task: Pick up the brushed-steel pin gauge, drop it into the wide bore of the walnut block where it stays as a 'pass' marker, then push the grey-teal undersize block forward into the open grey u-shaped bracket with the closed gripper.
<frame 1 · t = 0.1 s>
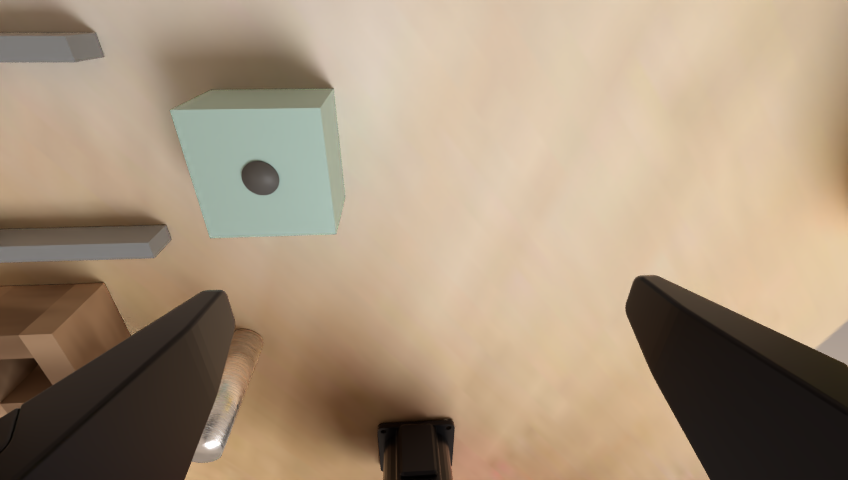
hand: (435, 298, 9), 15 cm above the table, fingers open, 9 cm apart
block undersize: (284, 146, 22), on the table
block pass: (70, 327, 27), on the table
pin gauge: (245, 341, 28), on the table
grey u-shaped bracket: (28, 151, 21), on the table
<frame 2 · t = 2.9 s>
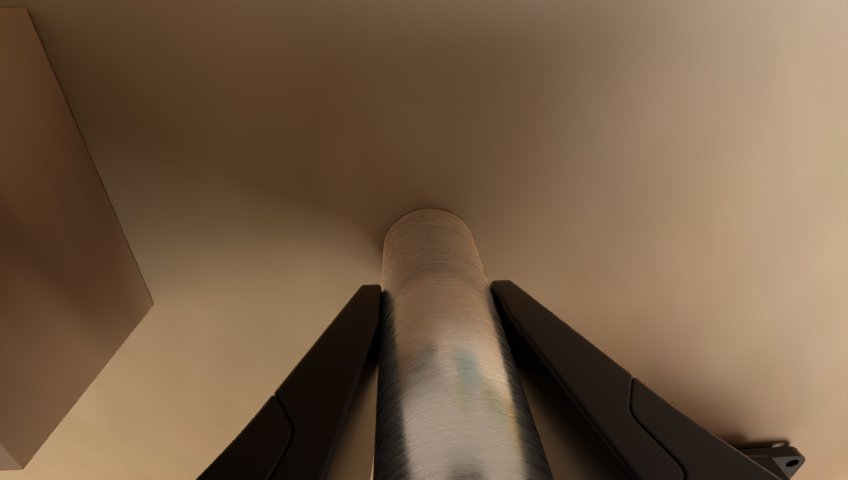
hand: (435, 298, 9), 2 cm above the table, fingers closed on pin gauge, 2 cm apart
pin gauge: (428, 249, 11), on the table, touching gripper
when the fingers open (5 cm above the table, at t = 6.1 s): pin gauge drops 3 cm, resting in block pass.
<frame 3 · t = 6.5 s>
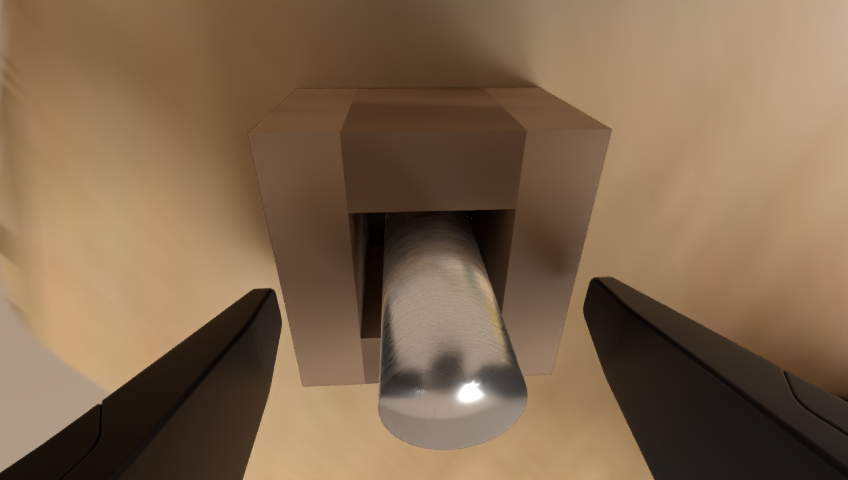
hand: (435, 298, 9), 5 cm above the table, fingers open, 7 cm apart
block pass: (420, 199, 13), on the table
pin gauge: (422, 197, 13), resting in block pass
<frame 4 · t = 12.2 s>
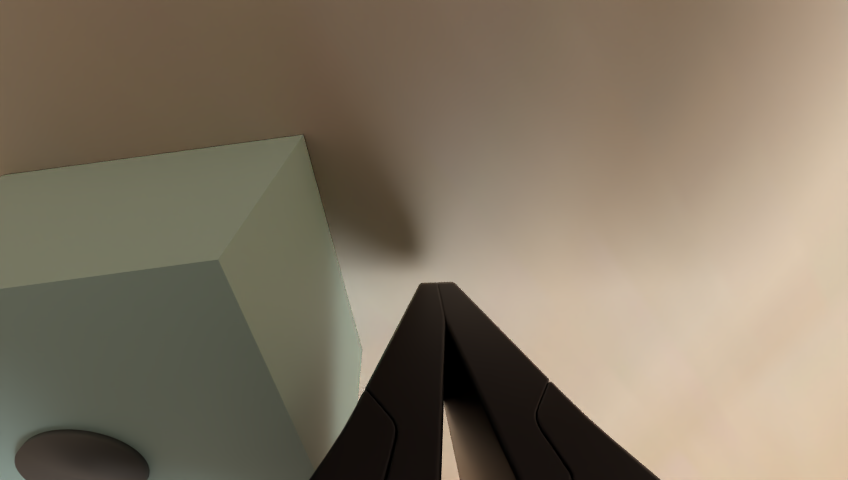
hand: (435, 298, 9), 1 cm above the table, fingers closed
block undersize: (211, 276, 10), on the table, touching gripper
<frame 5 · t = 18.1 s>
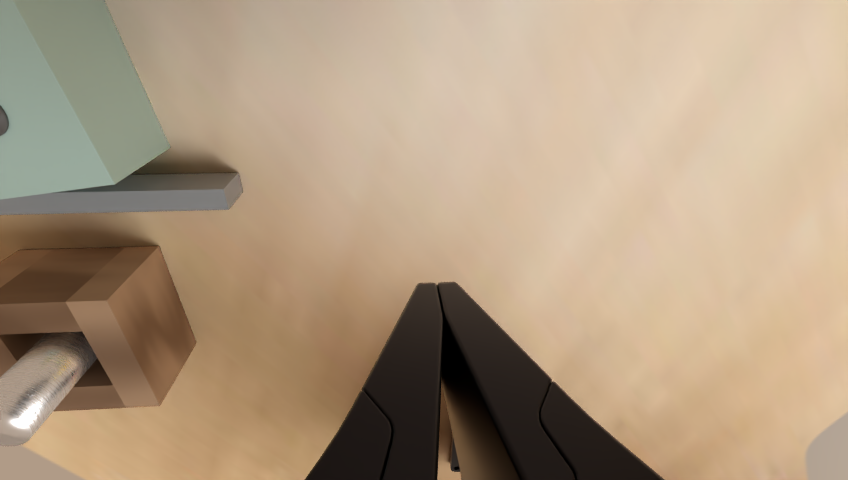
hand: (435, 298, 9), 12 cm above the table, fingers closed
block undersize: (72, 88, 17), resting in grey u-shaped bracket
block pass: (115, 300, 23), on the table
pin gauge: (116, 299, 23), resting in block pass
grey u-shaped bracket: (79, 73, 17), on the table
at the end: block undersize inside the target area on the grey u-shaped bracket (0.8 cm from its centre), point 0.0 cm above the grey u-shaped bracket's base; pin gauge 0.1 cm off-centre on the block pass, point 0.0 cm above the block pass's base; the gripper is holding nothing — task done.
